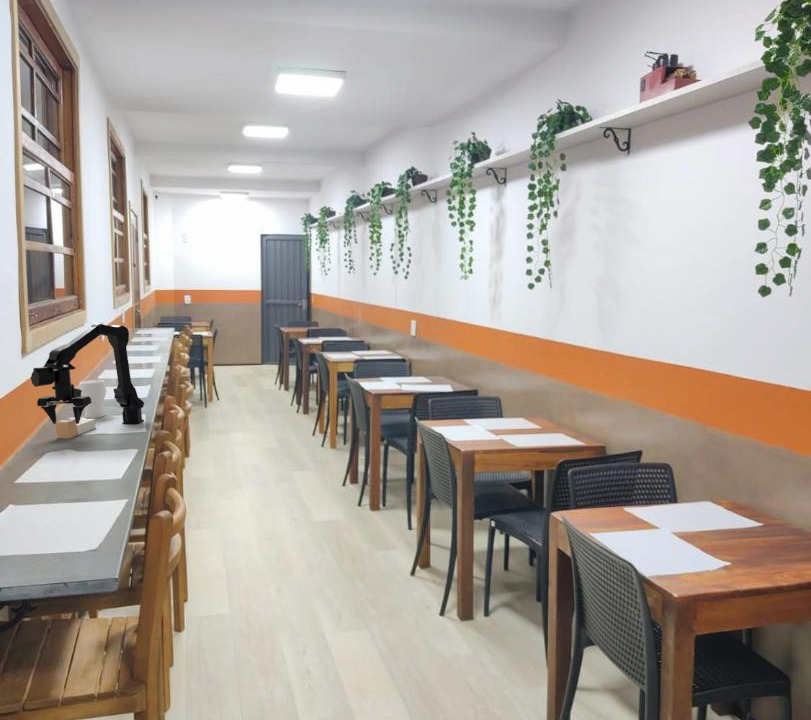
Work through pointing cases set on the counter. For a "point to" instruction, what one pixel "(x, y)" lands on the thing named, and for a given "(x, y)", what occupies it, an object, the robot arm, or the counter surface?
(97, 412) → the cup
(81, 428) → the white slotted tower
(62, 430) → the light brown cardboard box
